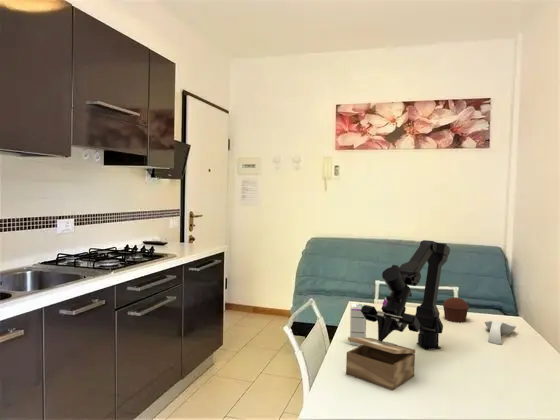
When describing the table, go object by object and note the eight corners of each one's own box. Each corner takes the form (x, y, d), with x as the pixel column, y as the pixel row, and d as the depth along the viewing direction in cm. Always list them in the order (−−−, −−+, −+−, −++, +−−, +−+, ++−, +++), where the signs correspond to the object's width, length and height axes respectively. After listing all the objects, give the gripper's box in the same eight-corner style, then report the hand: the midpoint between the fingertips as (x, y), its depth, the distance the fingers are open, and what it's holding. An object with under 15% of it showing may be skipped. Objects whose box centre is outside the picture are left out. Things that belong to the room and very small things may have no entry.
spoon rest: (486, 326, 189) (486, 310, 189) (516, 331, 183) (517, 314, 183) (478, 341, 169) (479, 323, 169) (512, 347, 163) (513, 329, 163)
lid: (369, 340, 146) (370, 337, 146) (414, 353, 135) (415, 349, 135) (347, 340, 135) (348, 336, 136) (394, 353, 125) (394, 349, 125)
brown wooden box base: (369, 361, 146) (369, 341, 146) (414, 375, 135) (414, 353, 135) (346, 374, 135) (346, 352, 135) (392, 390, 125) (393, 366, 124)
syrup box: (365, 346, 161) (366, 307, 160) (349, 345, 162) (350, 306, 161) (365, 341, 166) (366, 304, 166) (350, 340, 168) (351, 303, 167)
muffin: (449, 315, 206) (450, 294, 206) (472, 320, 198) (473, 298, 198) (437, 319, 198) (438, 297, 198) (461, 325, 190) (461, 302, 190)
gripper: (431, 319, 140) (415, 361, 132) (380, 308, 153) (363, 346, 145) (422, 299, 134) (404, 342, 126) (369, 289, 147) (350, 328, 139)
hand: (379, 340), depth 134 cm, fingers closed
